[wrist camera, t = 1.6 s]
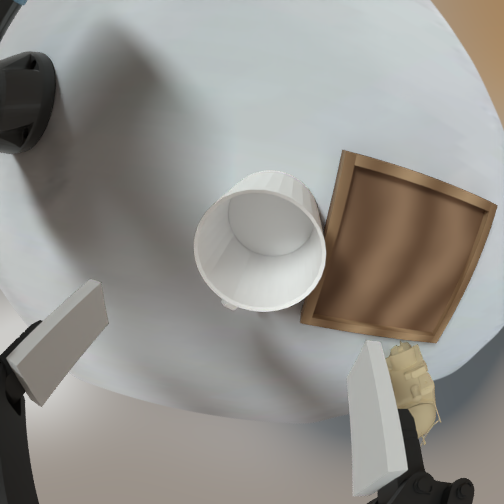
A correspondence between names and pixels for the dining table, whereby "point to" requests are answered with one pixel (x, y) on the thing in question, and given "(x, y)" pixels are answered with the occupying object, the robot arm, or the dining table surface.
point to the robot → (413, 385)
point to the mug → (262, 243)
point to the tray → (396, 251)
